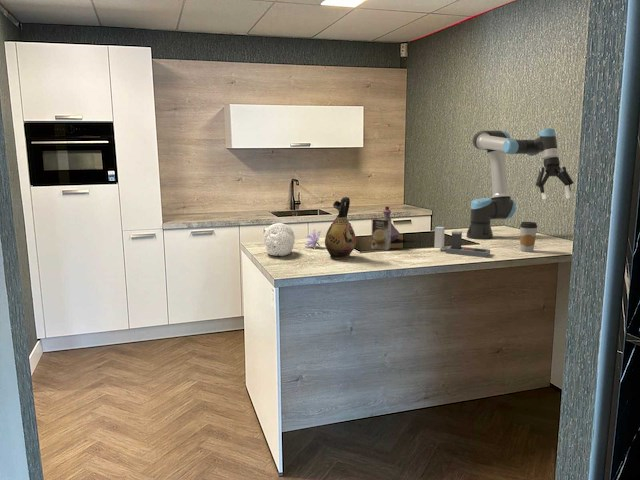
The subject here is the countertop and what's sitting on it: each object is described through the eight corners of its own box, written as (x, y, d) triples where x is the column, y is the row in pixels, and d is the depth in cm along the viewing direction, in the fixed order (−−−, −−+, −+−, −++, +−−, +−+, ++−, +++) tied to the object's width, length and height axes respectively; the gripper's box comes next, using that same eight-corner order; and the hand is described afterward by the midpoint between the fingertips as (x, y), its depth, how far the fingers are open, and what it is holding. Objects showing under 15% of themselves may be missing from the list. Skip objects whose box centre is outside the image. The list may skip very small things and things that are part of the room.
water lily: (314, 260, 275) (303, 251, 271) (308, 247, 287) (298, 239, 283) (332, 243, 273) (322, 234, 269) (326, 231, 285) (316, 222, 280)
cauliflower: (256, 235, 267) (273, 212, 260) (284, 247, 274) (301, 226, 267) (258, 258, 251) (275, 234, 244) (287, 271, 258) (305, 248, 251)
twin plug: (453, 251, 262) (454, 230, 260) (460, 252, 260) (461, 231, 258) (450, 252, 258) (451, 231, 256) (458, 253, 256) (459, 232, 254)
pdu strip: (443, 250, 267) (443, 243, 266) (490, 255, 255) (490, 248, 254) (437, 253, 260) (438, 246, 259) (485, 258, 247) (486, 251, 247)
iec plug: (436, 246, 276) (437, 226, 274) (443, 247, 274) (444, 227, 272) (434, 247, 273) (435, 227, 271) (441, 248, 271) (442, 228, 269)
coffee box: (370, 248, 273) (371, 219, 270) (374, 246, 278) (375, 217, 276) (387, 250, 269) (387, 220, 266) (390, 248, 275) (391, 218, 272)
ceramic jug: (346, 261, 242) (346, 199, 236) (319, 258, 250) (318, 197, 244) (362, 255, 256) (363, 196, 250) (336, 252, 264) (336, 195, 258)
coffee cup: (534, 250, 268) (536, 222, 265) (536, 253, 260) (538, 224, 257) (518, 249, 270) (519, 221, 268) (518, 252, 263) (520, 223, 260)
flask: (405, 242, 291) (406, 207, 287) (378, 243, 287) (378, 208, 283) (394, 237, 306) (394, 204, 303) (368, 238, 302) (369, 205, 299)
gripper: (533, 156, 255) (539, 197, 252) (577, 155, 260) (583, 196, 257) (525, 161, 262) (530, 201, 259) (567, 160, 267) (573, 199, 264)
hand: (556, 198), depth 258 cm, fingers open, 13 cm apart
